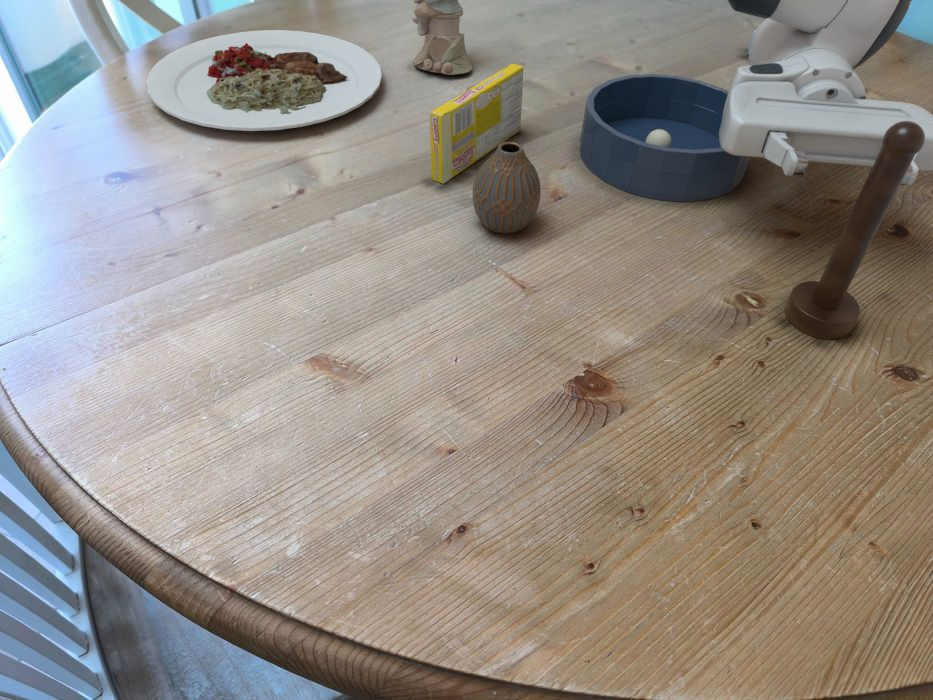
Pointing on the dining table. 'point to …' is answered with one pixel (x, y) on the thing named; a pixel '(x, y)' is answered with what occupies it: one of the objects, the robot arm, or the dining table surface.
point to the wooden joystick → (854, 241)
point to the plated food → (264, 80)
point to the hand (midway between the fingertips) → (852, 173)
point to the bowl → (651, 166)
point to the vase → (506, 190)
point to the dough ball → (659, 138)
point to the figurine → (441, 37)
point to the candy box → (475, 122)
